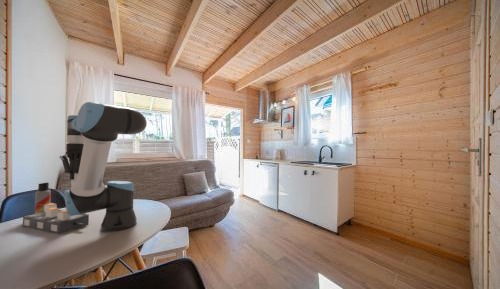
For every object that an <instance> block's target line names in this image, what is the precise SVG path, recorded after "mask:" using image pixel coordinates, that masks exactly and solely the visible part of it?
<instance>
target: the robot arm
mask: <svg viewBox="0 0 500 289" xmlns="http://www.w3.org/2000/svg"><path fill="white" fill-rule="evenodd" d="M147 122H148V121H147V119H146V117H145V115H144V114H142V112H140V111H138V110H136V109H134V108H130V107H123V106H118V105H112V104H106V103H103V102H94V101H93V102H92V101H87V102H85V103H83V104H82V105H81V106H80V108H79V110H78V113H77V115H74V114H72V115H68V116H67V120H66V145H65V150H66V151H65V154H63V155H60V156H59V159H60V160H61V161H62V166H63V168H64V172H65V173H66V174H69V180H70V181H71V182H70V185H71V187H70V189H66V190H64V194H63V195H64V197H63V198H64V202H65V208H66V209H65V210H67V214H68V215H71V216H73V215H80V214H84V213H85V214H88V213H92V212H97V211H101V210H105V214H104V216H103V219H102V222H101V224H100V230H101V232H108V233H112V232H118V231H123V230H127V229H130V228H131V227H133V226H134V225H136V224H137V215H136V213H135V210H134V197H135V196H134V195H135V194H134V193H135V190H134V189H135V188H134V187H135V186H134V183H133V182H132V181H127V180H125V181H124V180H111V181H110V180H109V181H107V182H106V184H105V183H104V182H103V181H104V180H103V179H104V175H105V171H106V167H107V163H108V158H109V155H110V150H111V146H112V142H115V141H116V140H117V139H118V137H119V135H137V134H141V133H142V132H143V131H145V130H146V128H147V124H148V123H147Z"/></svg>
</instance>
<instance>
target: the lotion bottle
mask: <svg viewBox="0 0 500 289" xmlns="http://www.w3.org/2000/svg"><path fill="white" fill-rule="evenodd" d="M49 183H50V182H41V183H38V188H37V191H35V199H34V200H35V201H34V214H37V213H41V212H44V205H45V204H50V203H51V195H52V194H51V192H52V191H51V189H49V187H50V186H49Z"/></svg>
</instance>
